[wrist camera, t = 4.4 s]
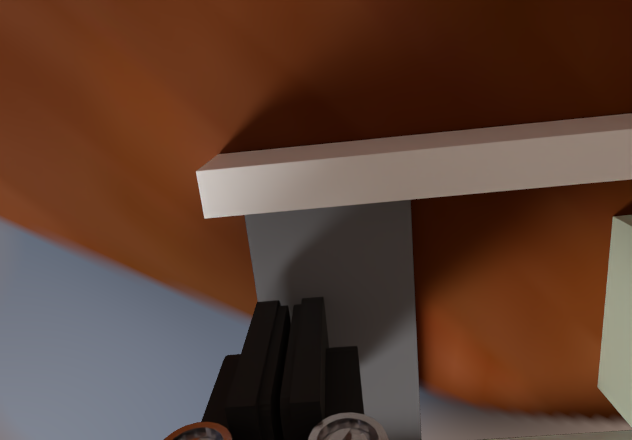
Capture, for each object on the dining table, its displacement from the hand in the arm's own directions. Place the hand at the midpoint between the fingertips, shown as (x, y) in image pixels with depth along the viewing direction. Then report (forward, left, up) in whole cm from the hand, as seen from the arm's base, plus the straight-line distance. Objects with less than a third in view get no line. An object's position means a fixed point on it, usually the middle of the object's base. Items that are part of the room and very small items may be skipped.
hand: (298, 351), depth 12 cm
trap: (-1, 0, -1) cm, 1 cm away
